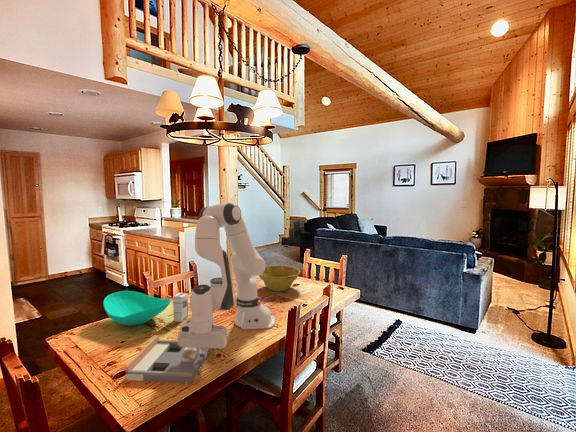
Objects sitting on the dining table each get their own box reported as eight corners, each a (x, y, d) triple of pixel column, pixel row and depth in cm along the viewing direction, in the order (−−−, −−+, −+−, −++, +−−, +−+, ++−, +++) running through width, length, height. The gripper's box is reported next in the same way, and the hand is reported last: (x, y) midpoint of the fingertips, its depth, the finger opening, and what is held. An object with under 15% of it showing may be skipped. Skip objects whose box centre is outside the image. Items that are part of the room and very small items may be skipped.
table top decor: (89, 325, 159) (88, 301, 158) (134, 306, 184) (133, 286, 183) (143, 341, 143) (142, 315, 142) (184, 318, 169) (183, 295, 167)
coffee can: (212, 297, 200) (212, 277, 199) (227, 297, 201) (227, 277, 199) (208, 303, 190) (208, 282, 189) (225, 303, 190) (224, 282, 189)
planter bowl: (280, 279, 243) (280, 262, 241) (309, 289, 219) (309, 271, 218) (247, 287, 221) (247, 270, 220) (275, 300, 197) (275, 280, 196)
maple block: (198, 355, 127) (198, 346, 127) (194, 362, 122) (194, 352, 122) (187, 354, 128) (187, 346, 127) (182, 361, 123) (182, 352, 122)
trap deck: (211, 349, 137) (211, 337, 136) (191, 383, 113) (191, 369, 113) (156, 346, 139) (156, 335, 138) (125, 379, 115) (125, 366, 114)
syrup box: (182, 322, 164) (182, 296, 163) (173, 321, 165) (172, 295, 164) (188, 317, 170) (187, 293, 168) (179, 316, 171) (178, 292, 169)
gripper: (228, 322, 126) (229, 353, 127) (181, 320, 127) (182, 351, 128) (224, 329, 120) (225, 361, 121) (175, 327, 121) (176, 359, 122)
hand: (202, 356), depth 125 cm, fingers closed
